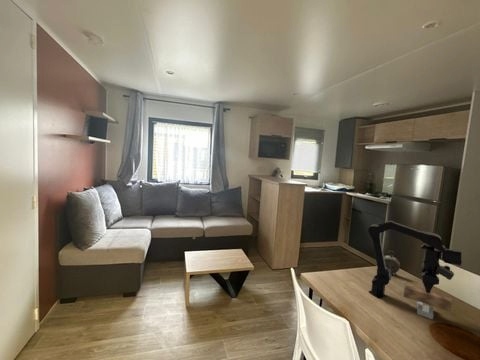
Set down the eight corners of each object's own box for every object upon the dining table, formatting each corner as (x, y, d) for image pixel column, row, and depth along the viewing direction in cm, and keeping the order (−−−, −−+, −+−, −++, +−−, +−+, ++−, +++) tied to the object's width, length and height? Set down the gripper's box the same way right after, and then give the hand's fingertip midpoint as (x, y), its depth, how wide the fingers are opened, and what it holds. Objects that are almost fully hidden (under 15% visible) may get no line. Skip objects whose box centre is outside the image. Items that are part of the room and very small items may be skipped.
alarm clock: (399, 275, 150) (401, 252, 149) (397, 278, 146) (400, 254, 145) (380, 269, 158) (383, 247, 156) (378, 271, 154) (381, 249, 152)
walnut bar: (403, 296, 116) (405, 287, 115) (403, 293, 119) (404, 284, 118) (450, 311, 105) (452, 301, 105) (449, 307, 108) (450, 298, 108)
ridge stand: (416, 313, 110) (418, 304, 110) (417, 304, 118) (418, 295, 118) (432, 319, 107) (434, 309, 106) (431, 309, 114) (433, 300, 114)
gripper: (456, 271, 98) (451, 304, 99) (451, 258, 112) (447, 288, 114) (423, 262, 105) (419, 294, 106) (423, 252, 119) (419, 280, 121)
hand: (427, 289), depth 111 cm, fingers open, 9 cm apart
